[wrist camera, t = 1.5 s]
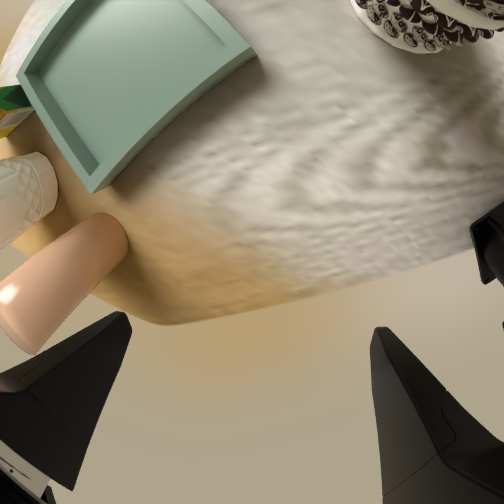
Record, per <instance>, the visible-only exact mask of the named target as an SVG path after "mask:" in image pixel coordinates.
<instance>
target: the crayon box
mask: <svg viewBox="0 0 504 504" xmlns="http://www.w3.org/2000/svg"><path fill="white" fill-rule="evenodd" d="M33 111H34V108H33V106H32V104H31V103H30V101H29V99H28V97H27V95H26V94H25V92H24V90H23V88H22V86H21V85H14V86H6V87H0V138H3V137H7V136H8V134H9V133H10V132H11V131H12V130H13V129H14V128H15V127H16V126H18V125H19V124H20V123H21V122H22V121H23V120H24V119H25V118H26V117H27V116H28V115H29V114H30V113H32V112H33Z"/></svg>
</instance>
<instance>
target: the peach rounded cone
mask: <svg viewBox="0 0 504 504" xmlns="http://www.w3.org/2000/svg"><path fill="white" fill-rule="evenodd" d="M127 252H128V239H127V236H126V233H125V231H124V229H123V227H122V226H121V224H120V223H119V222H118V221H117V220H116V219H115V218H114V217H112V216H111V215H109V214H106V213H101V212H100V213H95V214H93V215H91V216H90V217H88V218H87V219H85V220H84V221H82V222H81V223H79V224H78V225H76V226H75V227H73V228H72V229H70V230H69V231H67V232H66V233H64V234H63V235H61V236H60V237H59V238H57V239H56V240H54V241H53V242H52V243H50V244H49V245H47V246H46V247H45V248H43V249H42V250H41V251H39V252H38V253H37V254H35V255H34V256H33V257H31V258H30V259H29V260H27V261H26V262H25V263H24V264H22V265H21V266H20V267H19V268H17V269H16V270H15V271H14V272H12V273H11V274H10V275H9V276H8V277H6V278H5V279H4V280H3V281H2V282H0V327H1V328H2V330H3V331H4V332H5V334H6V335H7V336H8V337H9V338H10V340H11V341H12V342H13V343H14V344H16V345H17V346H18V347H19V348H20V349H21V350H23V351H24V352H26V353H28V354H30V355H35V354H36V353H37V352H38V351H39V350H40V349H41V347H42V346H43V345H44V344H45V343H46V341H47V340H48V339H49V338H50V337H51V335H52V334H53V333H54V332H55V331H56V330H57V329H58V327H59V326H60V325H61V324H62V323H63V322H64V321H65V319H66V318H67V317H68V316H69V315H70V314H71V313H72V312H73V310H74V309H75V308H76V307H77V306H78V305H79V304H80V303H81V302H82V301H83V300H84V299H85V298H86V297H87V295H88V294H89V293H90V292H91V291H92V290H93V289H94V288H95V287H96V286H97V285H98V284H99V283H100V282H101V281H102V280H103V279H104V278H105V277H106V276H107V275H108V274H109V273H110V272H111V271H112V270H113V269H114V268H115V267H116V266H117V265H118V264H119V263H120V262H121V261H122V260H123V259H124V258H125V256H126V254H127Z"/></svg>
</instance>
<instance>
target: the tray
mask: <svg viewBox="0 0 504 504" xmlns="http://www.w3.org/2000/svg"><path fill="white" fill-rule="evenodd" d="M255 56H257V54H256V53H255V51H254V50H253V49H252V48H251V46H250V45H249V44H248V43H247V42H246V41H245V40H244V39H243V38H242V36H241V35H240V34H239V33H238V32H237V31H236V30H235V29H234V28H233V27H232V26H231V25H230V24H229V23H228V22H227V21H226V20H225V19H224V18H223V17H222V16H221V15H220V14H219V13H218V12H217V11H216V10H215V9H214V8H213V7H212V6H211V5H210V4H209V3H208V2H207V1H206V0H67V1H66V2H65V3H64V4H63V6H62V7H61V8H60V9H59V11H58V12H57V13H56V14H55V16H54V17H53V18H52V20H51V21H50V22H49V24H48V25H47V27H46V28H45V29H44V31H43V32H42V34H41V35H40V37H39V38H38V40H37V41H36V43H35V44H34V46H33V47H32V49H31V51H30V52H29V54H28V55H27V57H26V59H25V60H24V62H23V64H22V66H21V67H20V69H19V71H18V73H17V75H16V77H17V79H18V81H19V82H20V84H21V86H22V88H23V90H24V92H25V94H26V95H27V97H28V99H29V101H30V103H31V104H32V106H33V108H34V110H35V111H36V113H37V115H38V116H39V118H40V120H41V121H42V123H43V125H44V126H45V128H46V129H47V131H48V133H49V134H50V136H51V137H52V139H53V141H54V142H55V144H56V145H57V147H58V148H59V150H60V151H61V153H62V154H63V156H64V157H65V159H66V160H67V162H68V163H69V165H70V166H71V168H72V169H73V171H74V172H75V174H76V175H77V176H78V178H79V179H80V181H81V182H82V183H83V185H84V186H85V188H86V189H87V190H88V192H89V193H90V194H91V195H92V194H94V193H95V192H97V191H99V190H101V189H103V188H105V187H107V186H109V185H110V184H111V183H112V182H113V181H114V180H115V179H116V178H117V177H118V175H119V174H120V173H121V172H122V171H123V170H124V169H125V168H126V167H127V166H128V165H129V164H130V163H131V161H132V160H133V159H134V158H135V157H136V156H137V155H138V154H139V153H140V152H141V151H142V150H143V149H144V148H145V147H146V146H147V145H148V144H149V143H150V142H151V141H152V140H153V139H154V138H155V137H156V136H157V135H158V134H159V133H161V132H162V131H163V130H164V129H165V128H166V127H167V126H168V125H169V124H170V123H171V122H172V121H174V120H175V119H176V118H177V117H178V116H179V115H180V114H181V113H183V112H184V111H185V110H186V109H187V108H188V107H189V106H191V105H192V104H193V103H194V102H195V101H197V100H198V99H199V98H200V97H201V96H203V95H204V94H205V93H206V92H208V91H209V90H210V89H211V88H213V87H214V86H215V85H217V84H218V83H219V82H220V81H222V80H223V79H224V78H226V77H227V76H228V75H230V74H231V73H232V72H234V71H235V70H237V69H238V68H239V67H241V66H242V65H244V64H245V63H246V62H248V61H249V60H251V59H252V58H254V57H255Z"/></svg>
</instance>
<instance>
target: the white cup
mask: <svg viewBox="0 0 504 504" xmlns="http://www.w3.org/2000/svg"><path fill="white" fill-rule="evenodd" d="M57 198H58V182H57V178H56V175H55V171H54V168H53V166H52V165H51V163H50V162H49V160H48V159H47V157H46V156H44V155H42V154H41V153H39V152H33V153H29V154H25V155H22V156H18V157H10V158H7V159H2V160H0V251H1V250H2V249H3V248H5V247H6V246H7V245H9V244H10V243H11V242H13V241H14V240H15V239H17V238H18V237H19V236H21V235H22V234H23V233H24V232H25V231H26V230H28V229H29V228H31V227H32V226H33V225H34V224H35V223H36V222H37V221H39V220H40V219H42V218H43V217H45V216H46V215H48V214H49V213H50V212H51V211H52V210H53V209H54V208H55V204H56V201H57Z"/></svg>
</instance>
